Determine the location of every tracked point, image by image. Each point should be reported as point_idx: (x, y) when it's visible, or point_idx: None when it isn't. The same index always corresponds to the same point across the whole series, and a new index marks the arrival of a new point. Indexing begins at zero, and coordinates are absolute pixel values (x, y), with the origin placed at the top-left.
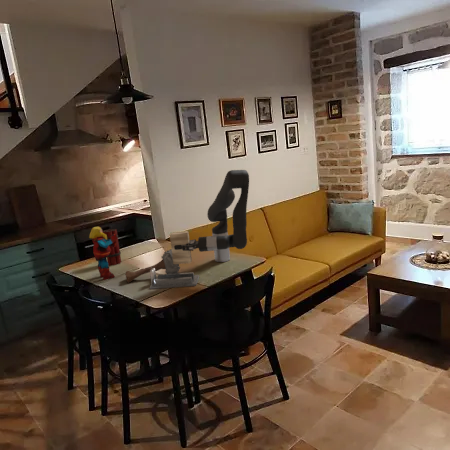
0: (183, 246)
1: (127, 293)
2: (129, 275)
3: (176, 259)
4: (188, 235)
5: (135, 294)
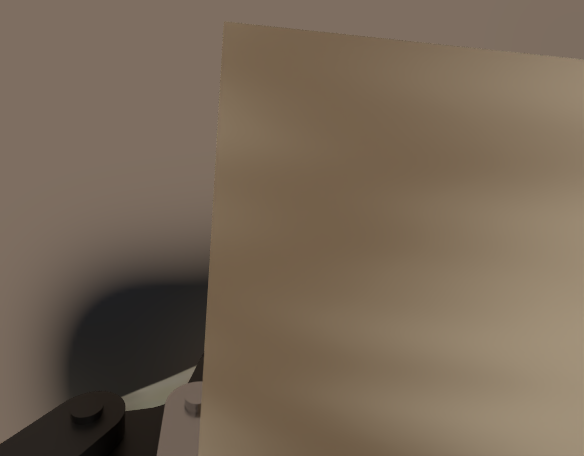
0: (39, 429)
1: (193, 371)
2: None
3: None
4: (553, 317)
5: (157, 398)
